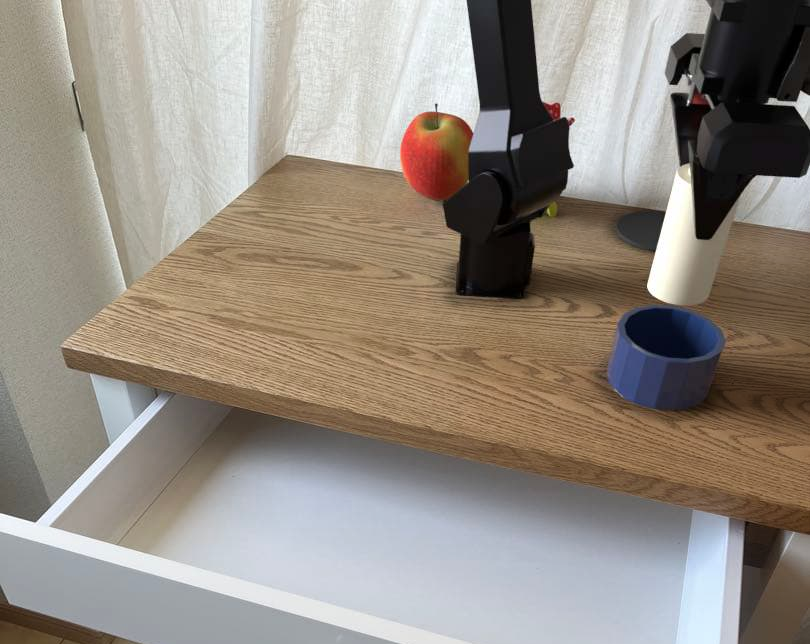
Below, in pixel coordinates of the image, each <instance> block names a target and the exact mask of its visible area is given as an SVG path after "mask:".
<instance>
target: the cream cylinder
mask: <svg viewBox="0 0 810 644" xmlns="http://www.w3.org/2000/svg"><path fill="white" fill-rule="evenodd" d="M741 197H742V194H741V195H740V197H739V198H738V199H737V201H736V202H735V204H734V205H733V207H732V209H731V210H730V212H729V213H728V215H727V216H726V218H725V219H724V221H723V222H722V224H721V225H720V227H719V228H718V230H717V231H716V233H715V234H714V236H713V237H712V238H711V239H710V240H699V239H697V238H696V236H695V228H694V217H693V203H692V189H691V175H690V163H689V164H685V165H683V166H681V167H680V166H679V167H678V168H677V170H676V172H675V176H674V181H673V184H672V188H671V193H670V196H669V200H668V204H667V207H666V211H665V212H666V215H665V218H664V222H663V226H662V230H661V234H660V238H659V241H658V245H657V249H656V252H655V253H654V258H653V261H652V264H651V269H650V272H649V277H648V280H647V291H648V292H649V294H651V295H652V296H653V297H654V298H656V299H657V300H659V301H661V302H664V303H666V304H670V305H673V306H680V307H681V306H682V307H688V306H691V307H692V306H697V305H700V304H702V303H704V302H706V301H707V300H708V298H709V296H710V293H711V290H712V287H713V284H714V281H715V277H716V274H717V272H718V268H719V265H720V262H721V259H722V256H723V252H724V250H725V246H726V243H727V240H728V238H729V234H730V232H731V228H732V226H733V221H734V218H735V215H736V212H737V209H738V206H739V203H740V200H741Z"/></svg>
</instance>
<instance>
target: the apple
mask: <svg viewBox="0 0 810 644" xmlns="http://www.w3.org/2000/svg"><path fill="white" fill-rule="evenodd" d="M438 106H439V104H438V103H434V109H435V111H425V112H422V113H420V114H418V115H416V116H415V117H414V118H413V119H412V120H411V121H410V123H409V124H408V126H407V128H406V130H405V132H404V134H403V137H402V140H401V142H400V150H399V162H400V167H401V171H402V173H403V176H404V179H405V180H406V181H407V182H406V183H408V185H409V186H410V187H411V189H413V191H415V192H416V193H418V194H419V195H421V196H423V197H425V198H427V199H430V200H434V201H446V200H448V199H449V198H450V197H451V196H453V195H454V194H455V193H456V192H457V191H459V190H460V189H461V188H462V187H464V186H465V185H466V184H467V183H468V182H469V173H468V150H469V146H470V143H471V140H472V136H473V133H474V131H473V130H472V128H471V127H470V125H469V124H468V122H467V121H465V120H464V119H463V118H462V117H459V116H457V115H454V114H452V113H451V114H450V113H446V112H440V111H438Z"/></svg>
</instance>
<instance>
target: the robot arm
mask: <svg viewBox="0 0 810 644" xmlns="http://www.w3.org/2000/svg"><path fill="white" fill-rule="evenodd" d="M465 1H466V8H467V9H466V10H467V16H468V24H469V32H470V39H471V48H472V55H473V64H474V71H475V79H476V87H477V95H478V104H479V113H478V116H477V119H476V123H475V127H474V130H473V136H472V140H471V143H470V146H469V150H468V173H469V180H468V182H467V183H466V185H465V186H464V187H462V188H461V189H460V190H459V191H457V192H456V193H455V194H454V195H453V196H451V197H450V198H449V199H448V200H444V202H443V203H442V209H443V214H444V219H445V225H446V227H447V228H448V229H449V230H451V231H454V232H456V233H458V234H460V238H459V239H460V241H459V250H458V251H459V252H458V260H457V262H456V275H455V277H456V278H455V291H454V293H455V295H456V296H460V297H475V298H476V297H478V298H491V299H492V298H494V299H511V300H512V299H513V300H523V299H524V298H525V294H526V293H525V288H527V287H529V286H530V283H531V278H532V269H533V263H534V255H535V250H536V246H535V243H536V242H535V235H534V234H533V233H532V232H531V221H532V222H533V221H534V220H537V219H538V218H539V219H541V218H543V217H545V215H546V214H547V213H546V212H547V210H548V208H549V206H550V204H552V203H553V202H555V203H556V201H558V200H559V199H560V197H561V195H562V194H563V192H564V191H565V190H566V189H567V185H568V183H569V182H568V181H569V170H571V169H574V167H575V165H574V162H573V159H572V156H571V151H570V129H569V124H568V118H567V117H566V116H562V117H560V118H559V119H556V120H554V119H553V118H552V116H551V115H550V113H549V111H548V110H547V108H546V107H545V105H544V104H543V102H544V101H543V100H542V98H541V94H540V93H541V91H540V83H539V82H540V81H539V71H538V60H537V50H536V39H535V27H534V17H533V6H532V5H533V4H532V0H465ZM705 1H706V3H707V4H708V6H709V7H710V13H709V17H708V22H707V24H706V28H705V32H704V33H696V32H695V33H694V32H686V33H685V34H683V35H682V36H681V37H680V38H678V40H676V41H675V42H674V43H672V45H670V48H669V53H668V56H667V61H666V64H665V65H666V66H665V69H664V75H665V78H666V81H667V83H668V85H669V86H678V85H679V84H680V81H681V80H682V77H683V76H685V82H684V85H683V90H682V92H672V93H670V96H669V100H670V102H669V103H670V105H671V112H672V119H673V126H674V133H675V134H674V135H675V141H676V149H677V156H678V157H677V158H678V164H679V167H681V166H683V165H685V164H689V163H690V175H691V189H692V203H693V217H694V228H695V236H696V238H697V239H699V240H710V239H711V238H712V237H713V236H714V234H715V233H716V231H717V230H718V228H719V227H720V225H721V224H722V222H723V221H724V219H725V218H726V216H727V215H728V213H729V212H730V210H731V209H732V207H733V205H734V204H735V202H736V201H737V199H738V198H739V197H740V195H741V196H742V194H743V192H744V191H745V190H746V189H747V187H748V186H749V184H750V183H751V182H752V180H753V179H755V178H756V177H757V176H760V177H774V178H775V177H776V178H777V177H778V178H792V179H793V178H795V179H799V178H802V177H804V176H807V173H808V171H809V168H810V127H809V125H808V124H807V122H806V121H805V120H804V118H803V117H802V115H801V113H800V112H799V111H798V109H797V108H796V106H795V105H784V104H768V103H769V101H770V99H775V100H776V101H778V102H789V103H797V102H798V100H799V96H800V94H801V92H802V93H804V94H805V95H807V96H808V97H810V0H705ZM740 198H741V197H740Z"/></svg>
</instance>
